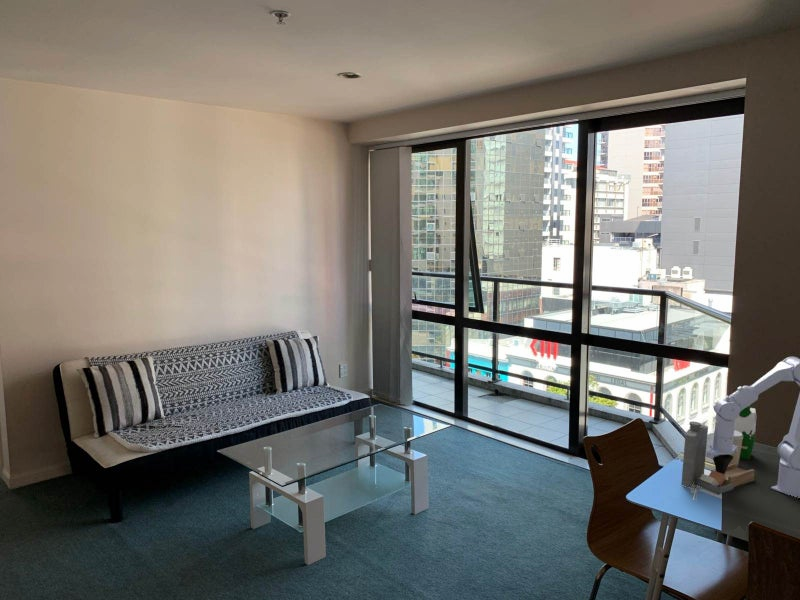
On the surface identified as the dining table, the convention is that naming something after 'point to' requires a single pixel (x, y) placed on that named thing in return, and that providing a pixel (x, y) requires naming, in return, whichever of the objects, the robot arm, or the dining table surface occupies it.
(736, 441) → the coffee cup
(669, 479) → the dining table surface
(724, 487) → the tray
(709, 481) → the tile
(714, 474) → the tile
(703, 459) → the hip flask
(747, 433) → the milk carton
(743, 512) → the dining table surface
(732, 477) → the board
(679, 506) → the dining table surface
